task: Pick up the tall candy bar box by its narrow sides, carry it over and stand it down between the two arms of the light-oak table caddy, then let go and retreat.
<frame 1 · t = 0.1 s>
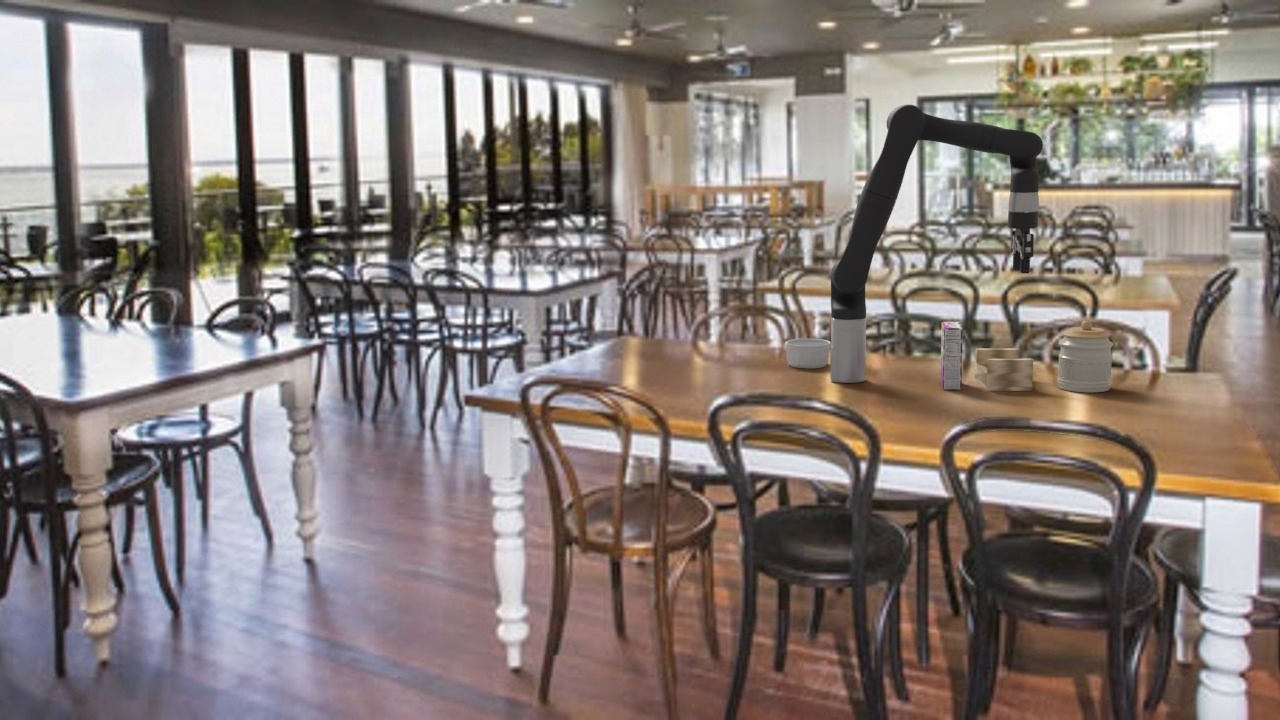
hand: (1021, 271, 302), 29 cm above the table, fingers open, 8 cm apart
caddy: (1002, 383, 302), on the table
candy bar box: (950, 387, 301), on the table
ramekin: (807, 366, 335), on the table
jar: (1083, 389, 295), on the table
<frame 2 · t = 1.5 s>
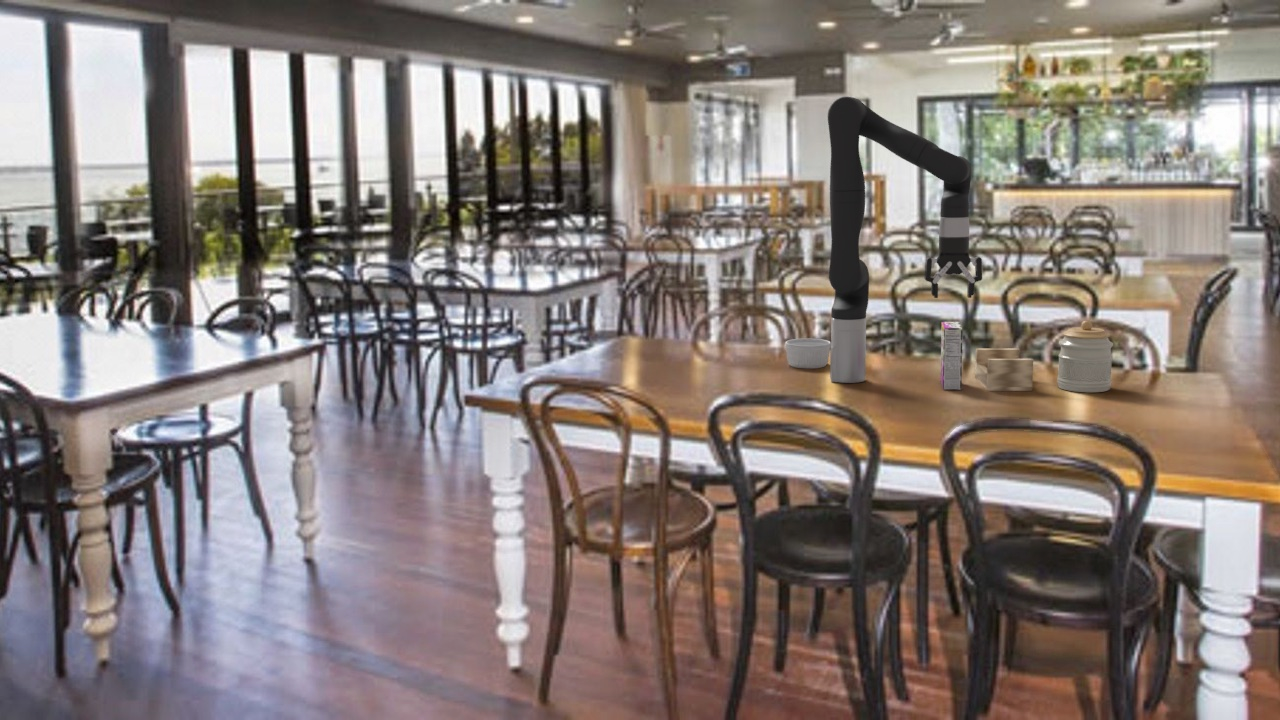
hand: (952, 297, 297), 23 cm above the table, fingers open, 8 cm apart
nothing on the table moved.
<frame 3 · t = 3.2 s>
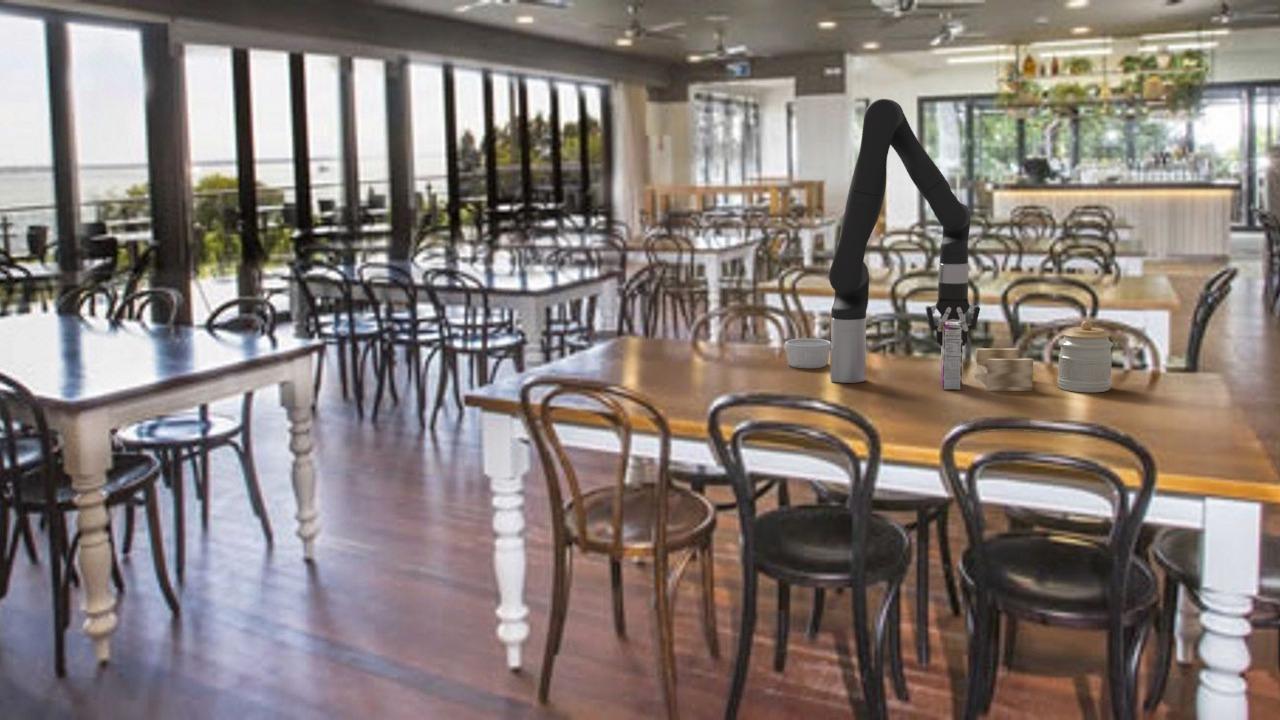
hand: (951, 345, 299), 11 cm above the table, fingers closed on candy bar box, 5 cm apart
candy bar box: (950, 386, 301), on the table, touching gripper
everything else where it was.
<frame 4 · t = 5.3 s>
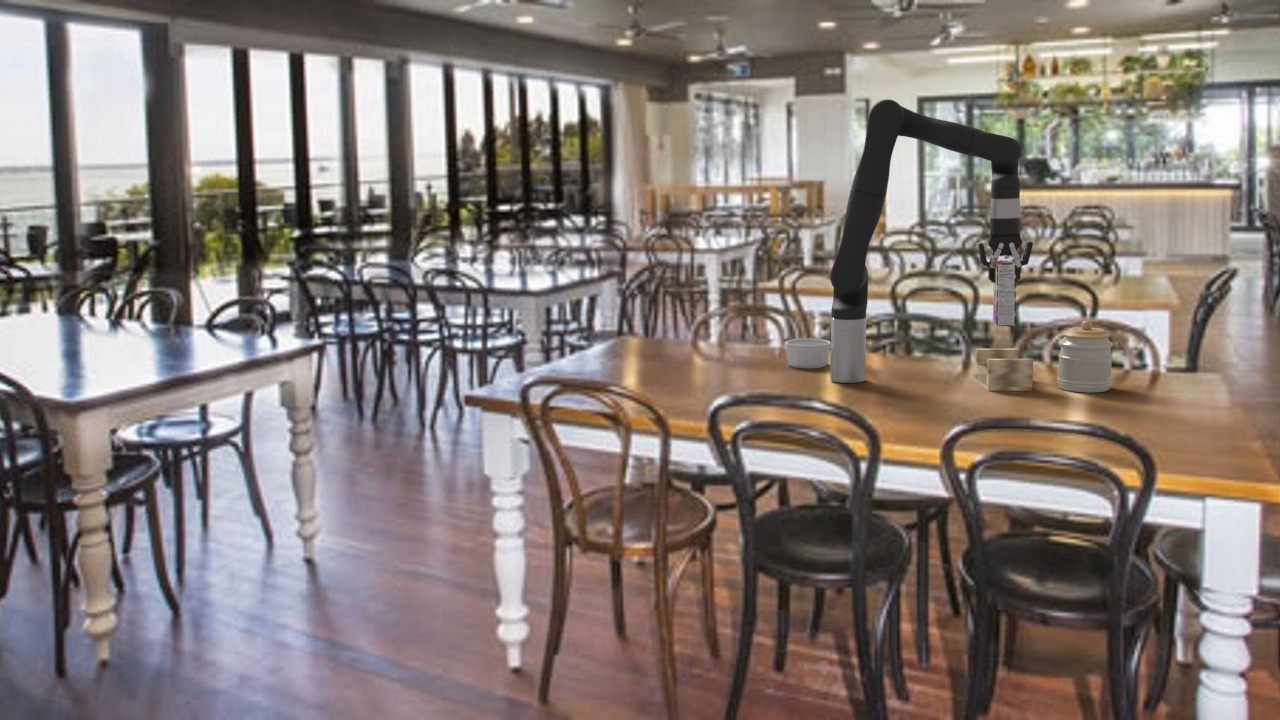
hand: (1004, 281, 297), 27 cm above the table, fingers closed on candy bar box, 5 cm apart
candy bar box: (1003, 324, 299), point 16 cm above the table, touching gripper
everything else where it was.
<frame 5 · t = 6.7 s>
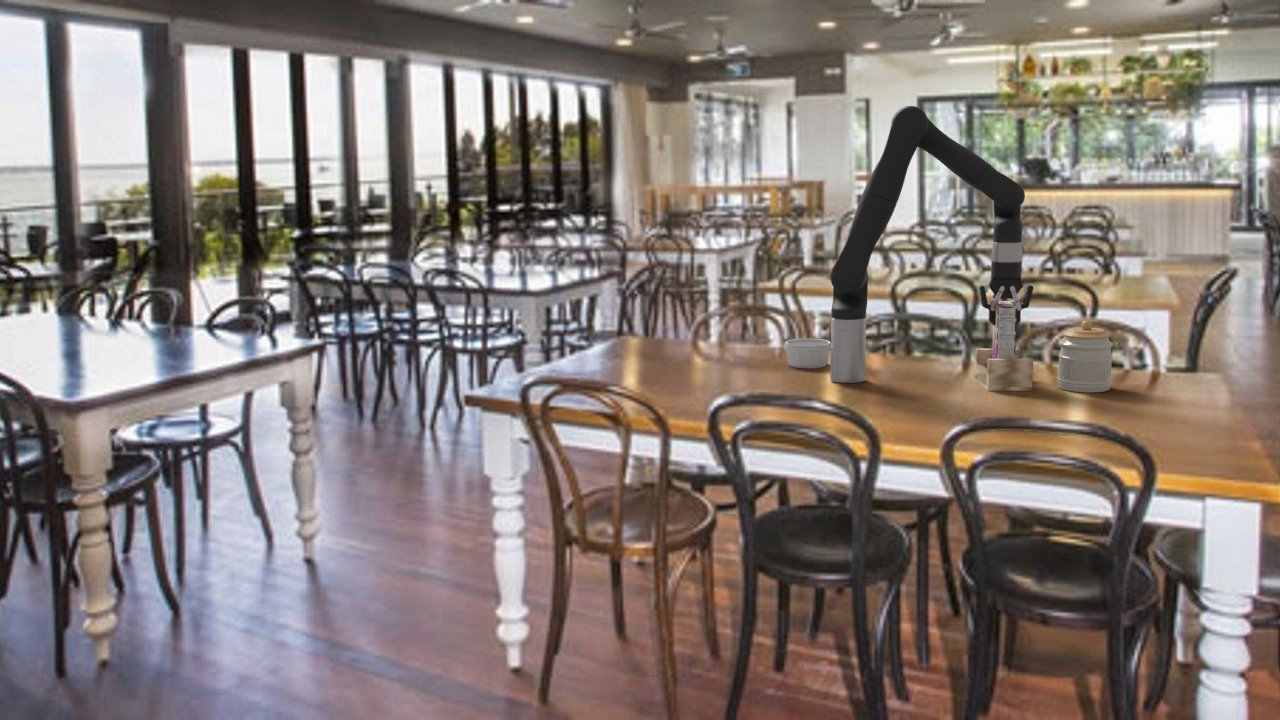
hand: (1004, 324, 300), 16 cm above the table, fingers closed on candy bar box, 5 cm apart
candy bar box: (1002, 366, 301), point 5 cm above the table, touching gripper
everything else where it was.
when the fingers open (13 cm above the table, at t = 7.6 s): candy bar box drops 1 cm, resting on caddy.
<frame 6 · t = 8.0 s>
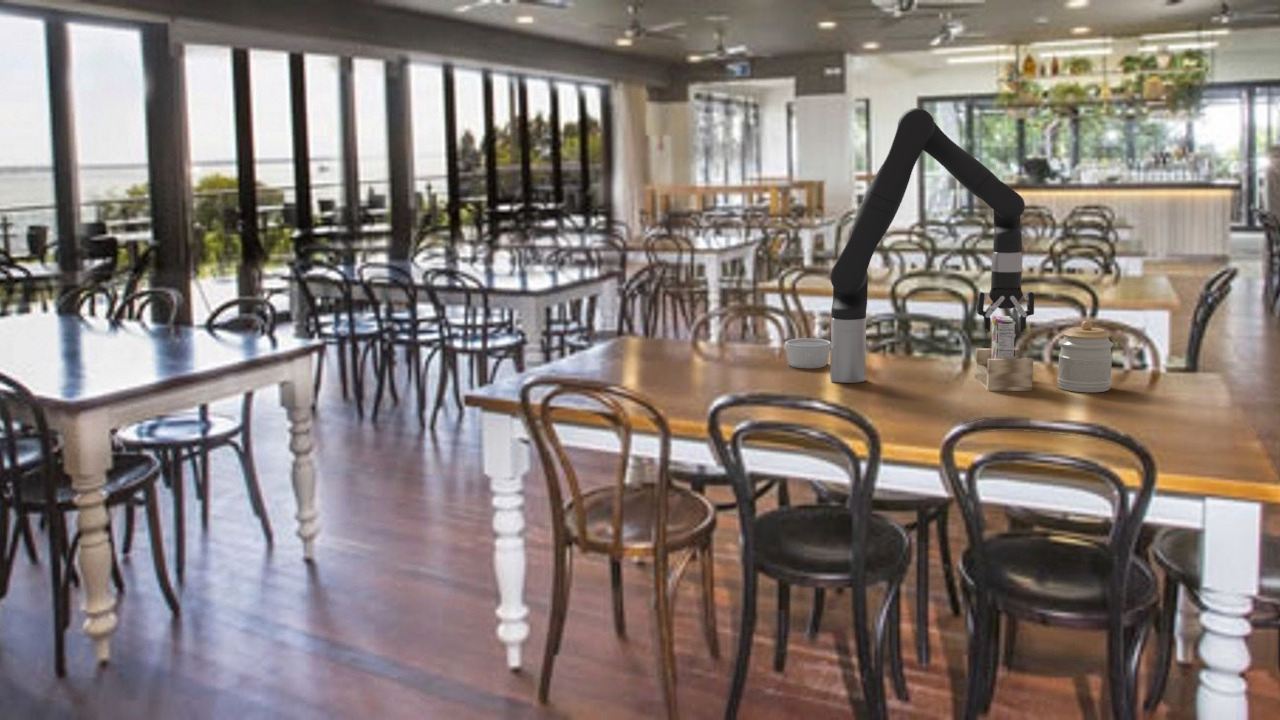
hand: (1004, 331, 300), 14 cm above the table, fingers open, 8 cm apart
candy bar box: (1001, 380, 302), point 1 cm above the table, touching caddy
everything else where it was.
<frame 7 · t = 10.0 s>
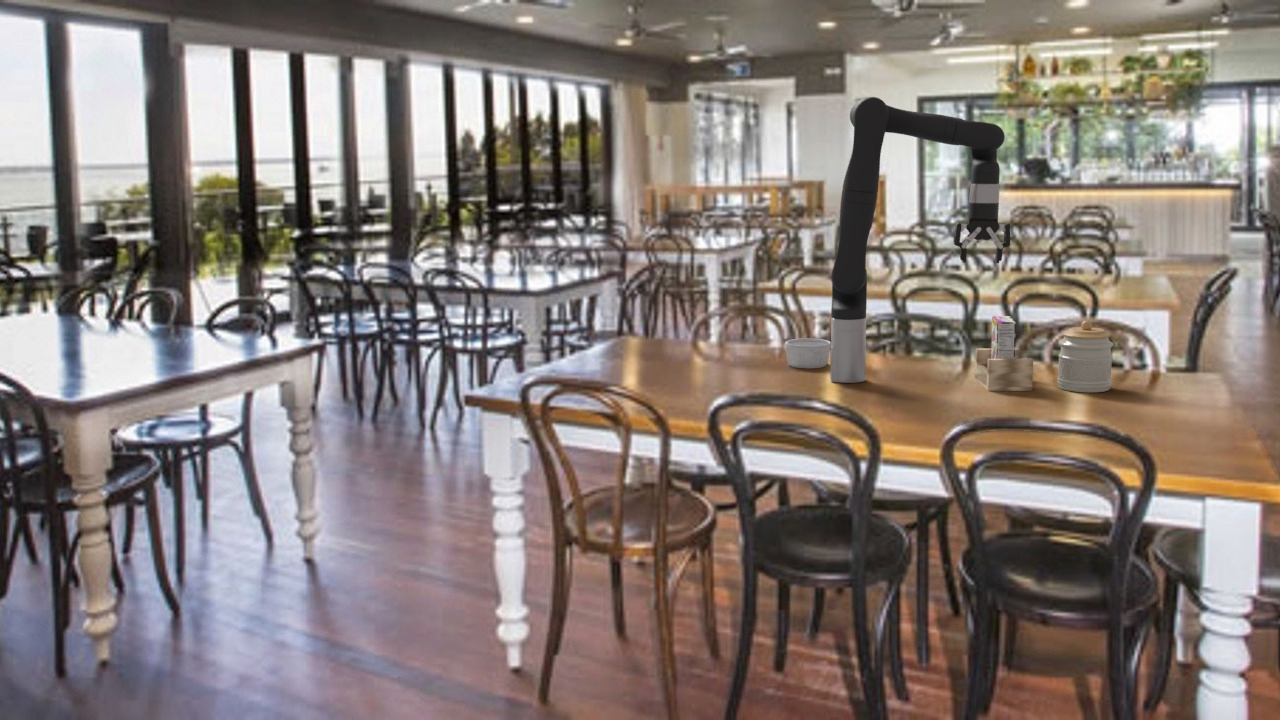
hand: (980, 262, 304), 32 cm above the table, fingers open, 8 cm apart
nothing on the table moved.
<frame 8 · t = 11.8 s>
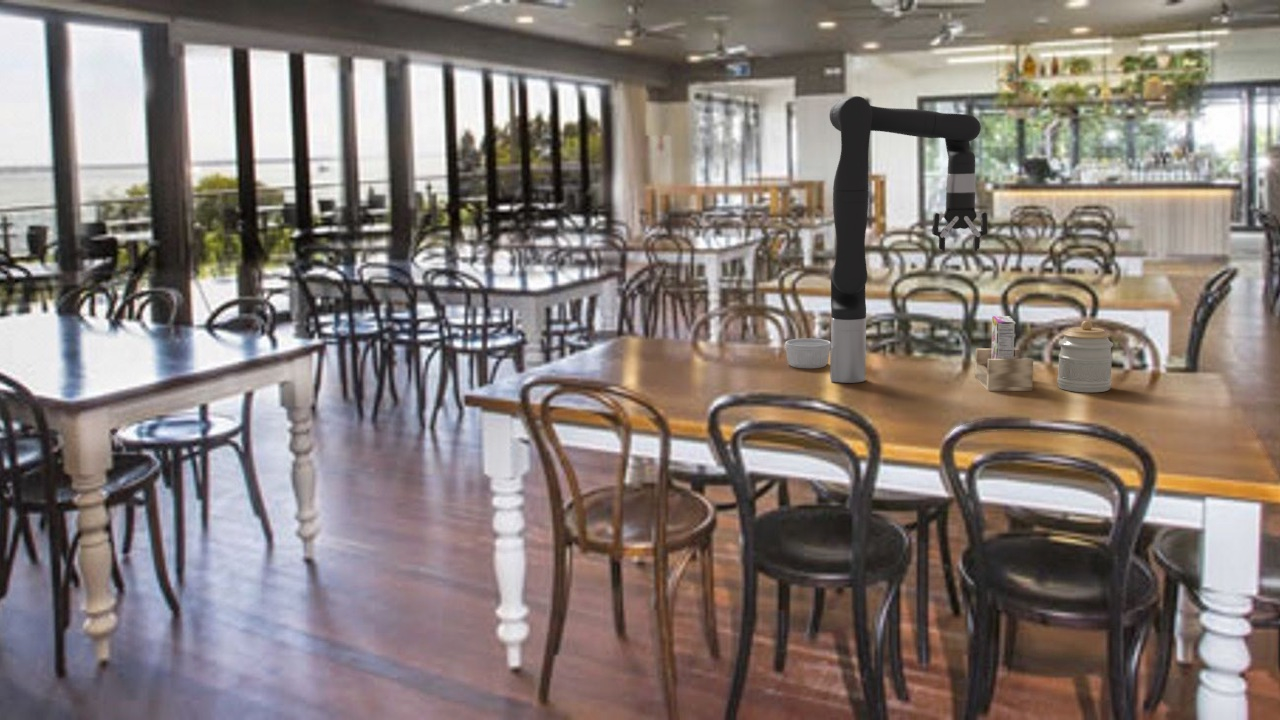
hand: (959, 251, 310), 34 cm above the table, fingers open, 8 cm apart
nothing on the table moved.
at the end: candy bar box inside the target area on the caddy (0.2 cm from its centre), point 0.8 cm above the caddy's base; candy bar box tilted 0°; the gripper is holding nothing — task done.
